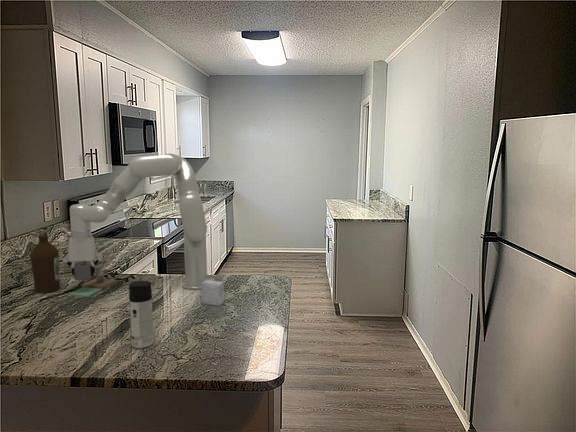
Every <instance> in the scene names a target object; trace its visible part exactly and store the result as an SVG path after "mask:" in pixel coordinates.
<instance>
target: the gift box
mask: <svg viewBox="0 0 576 432" xmlns="http://www.w3.org/2000/svg"><path fill="white" fill-rule="evenodd" d="M74 272H75V277H74V281H87V280H88V281H90V280H92V277H93V276H91V264H90V262H89V261H87V262H76V264H75V265H74Z"/></svg>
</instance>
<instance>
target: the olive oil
mask: <svg viewBox="0 0 576 432" xmlns="http://www.w3.org/2000/svg"><path fill="white" fill-rule="evenodd" d="M48 238H49V237H48V232H47V231H45V232H39V233H38V243H37V244H35V246H34V248H32V250H31V252H30V264H31V270H32V277H33V285H34V292H35V293H38V294H47V293H48V294H49V293H54V292H56V291H58V290H60V288H61V285H60V283H61V282H60V281H61V280H60V252H59V250H58V248H57V247H56V246H55V245H53V244H52V243H51V242H50V241H49V239H48Z"/></svg>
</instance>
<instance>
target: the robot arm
mask: <svg viewBox="0 0 576 432" xmlns="http://www.w3.org/2000/svg"><path fill="white" fill-rule="evenodd" d="M195 174H196V173H195V171H194V169H193V167H192V165H191V164H190V163H189V162H188V160H186V159H185V158H184V157H182V156H180V155H177V154H175V153H165V154H159V155H158V154H156V155H145V156H144V155H139V156H135V157H133V158H132V159H131V160H130V162H129V163H128V165H127V166H126V167H125V168H124V169H123V170H122V172H121V173H120V174H119V175H118V176H117V177H116V178H115V179H114V181H113V182H112V184H111V186H110V187H109V189H108V190H107V192H105V194H104V195H103V196H102V197H101V198H100V199H99V200H98V202H96V203H95V204H94V205H93V204H92V205H89V204H86V203H77V204H72V205H70V206H69V217H70V231H66V234H67V236H70V237H69V239H68V251H67V254H66V255H65V256H64V257H63V258H62V261H63V262H64V263H66V265H67V266H69V267H70V268H71V275H72V276H73V278H75V272H74V265H75V264H76V262H90V264H91V276H92V277H94V275H96V266H97V264H98V263H99V262H100V261H101V260H102V259H103V258H104V256H103V255H101V254H100V253H99V252H98V251H97V250H96V249H97V248H96V243H95V238H94V236H93V235H92V225H91V223H96V224H99V223H103V222H105V221H107V220H108V218H110V217H111V215H112V214H113V213H114V212H115V211H116V210H117V209H118V208H119V206H121V204H122V203H124V201H125V200H126V199H127V198H129V197H130V196H131V195H132V194H133V192H134V191H135V190H136V189H137V188H138V187H139V185H141V183H142V182H143V181H145V180H146V178H154V177H165V176H172V175H173V177H174V179H175V184H176V187H177V193H178V198H179V199H178V207H179V213H180V217H181V218H180V219H181V224H182V228H183V243H184V244H183V245H184V272H185V273H184V274H185V275H184V276H185V279H184V281H182V283H181V287H182V288H184V289H188V290H201V283H202V282H204V281H206V280H209V281H216V278H214V277H210V274H208V267H207V266H208V264H207V263H208V261H207V260H208V258H207V255H208V253H207V252H208V251H207V233H208V228H207V223H206V216H205V209H204V205H203V201H202V199H201V196H200V193H199V192H200V191H199V187H198V183H197V179H196V175H195ZM95 259H96V260H95Z"/></svg>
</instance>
